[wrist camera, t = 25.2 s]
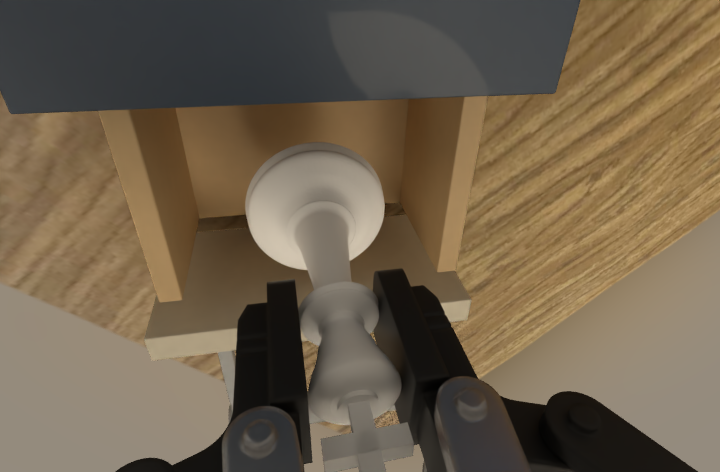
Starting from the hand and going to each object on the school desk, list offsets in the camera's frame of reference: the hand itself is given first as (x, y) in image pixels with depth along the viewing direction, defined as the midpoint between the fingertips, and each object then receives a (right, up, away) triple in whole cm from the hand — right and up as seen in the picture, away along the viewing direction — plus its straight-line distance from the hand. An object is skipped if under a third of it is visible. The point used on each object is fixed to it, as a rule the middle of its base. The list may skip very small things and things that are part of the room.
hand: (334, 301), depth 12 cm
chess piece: (-1, +3, +4) cm, 5 cm away
